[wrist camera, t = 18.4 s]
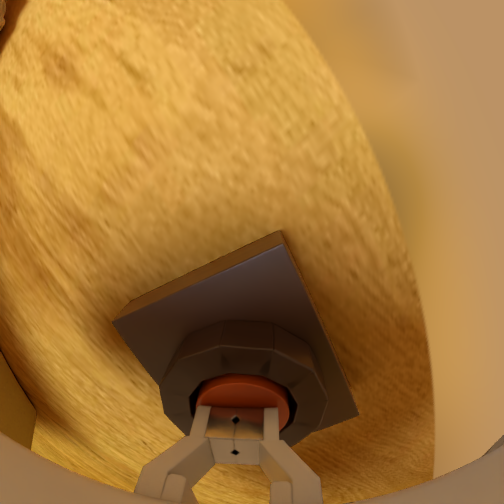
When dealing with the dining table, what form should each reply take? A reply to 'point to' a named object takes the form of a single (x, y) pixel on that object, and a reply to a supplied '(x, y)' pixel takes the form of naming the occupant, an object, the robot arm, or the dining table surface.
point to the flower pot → (15, 408)
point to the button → (245, 394)
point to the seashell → (2, 13)
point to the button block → (240, 337)
